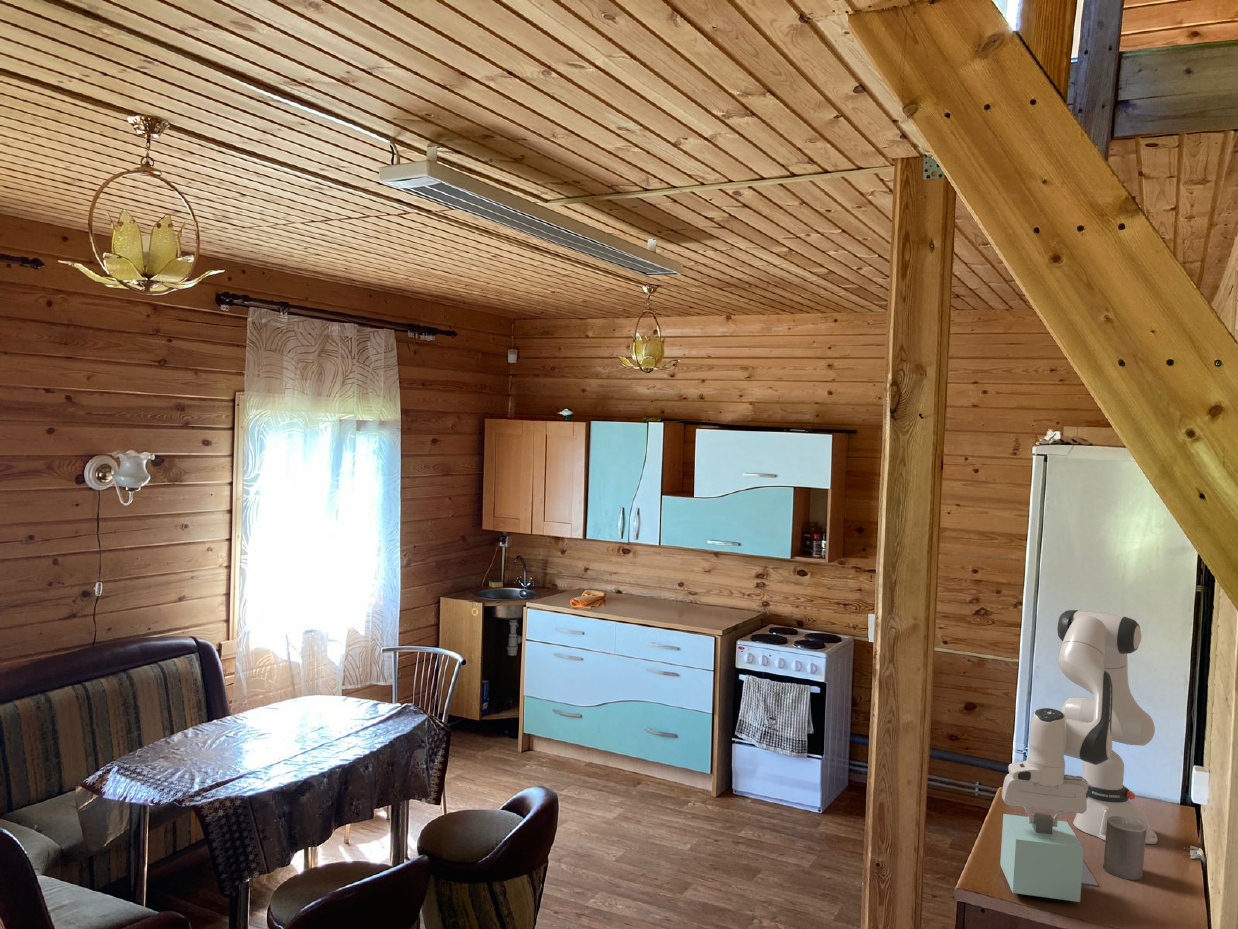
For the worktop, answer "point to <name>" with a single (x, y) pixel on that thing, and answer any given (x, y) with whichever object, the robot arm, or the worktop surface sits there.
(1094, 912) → the worktop surface
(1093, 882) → the mat
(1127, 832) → the pillar candle
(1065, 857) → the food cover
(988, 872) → the worktop surface
